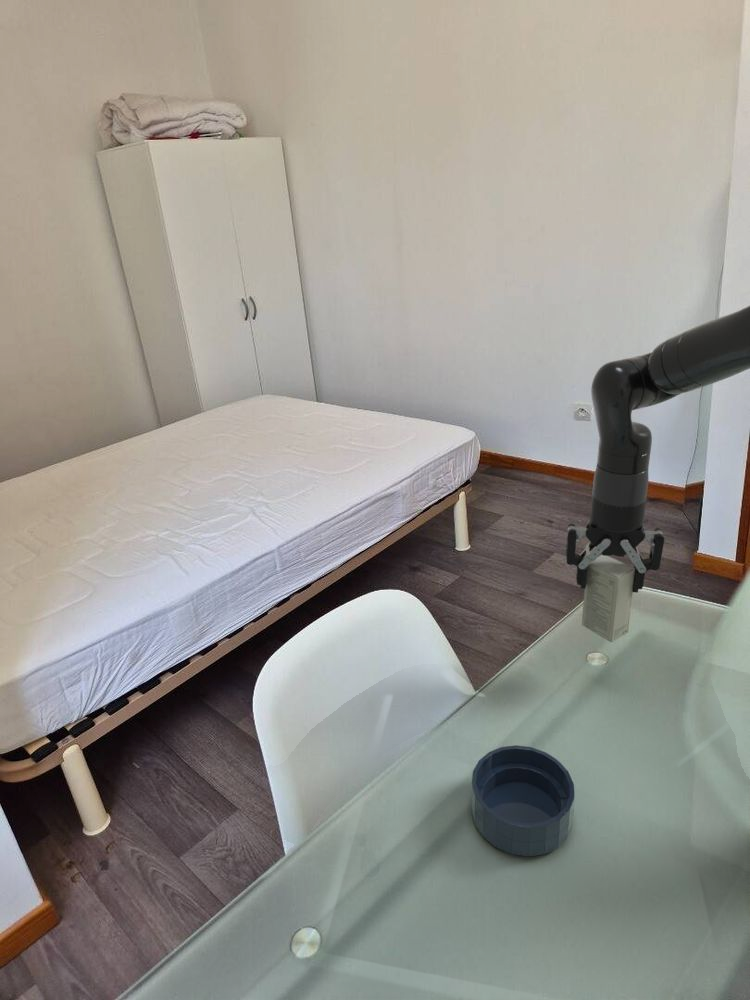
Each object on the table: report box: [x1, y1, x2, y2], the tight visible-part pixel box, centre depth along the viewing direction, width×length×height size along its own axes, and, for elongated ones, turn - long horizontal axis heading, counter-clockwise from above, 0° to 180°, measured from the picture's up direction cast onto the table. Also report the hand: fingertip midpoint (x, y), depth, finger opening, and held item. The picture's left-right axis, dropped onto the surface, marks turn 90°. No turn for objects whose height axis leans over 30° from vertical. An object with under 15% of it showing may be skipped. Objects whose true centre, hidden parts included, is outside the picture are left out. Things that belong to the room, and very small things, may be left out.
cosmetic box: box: [581, 554, 635, 643], centre depth 108 cm, size 6×4×12 cm
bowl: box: [470, 745, 575, 857], centre depth 92 cm, size 13×13×6 cm
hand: (608, 587), depth 108 cm, fingers closed on cosmetic box, 7 cm apart
